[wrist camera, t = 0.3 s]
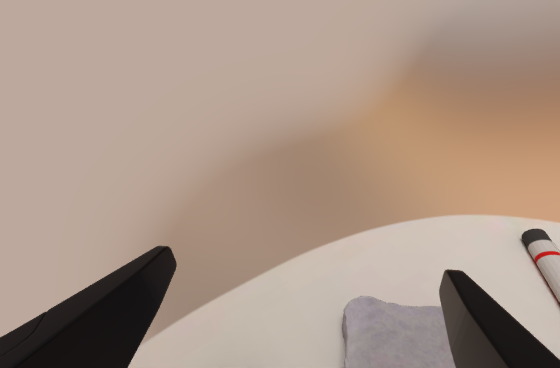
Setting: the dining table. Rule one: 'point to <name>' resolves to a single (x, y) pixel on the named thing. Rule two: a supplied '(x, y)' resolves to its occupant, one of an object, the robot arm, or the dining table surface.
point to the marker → (544, 257)
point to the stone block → (394, 335)
